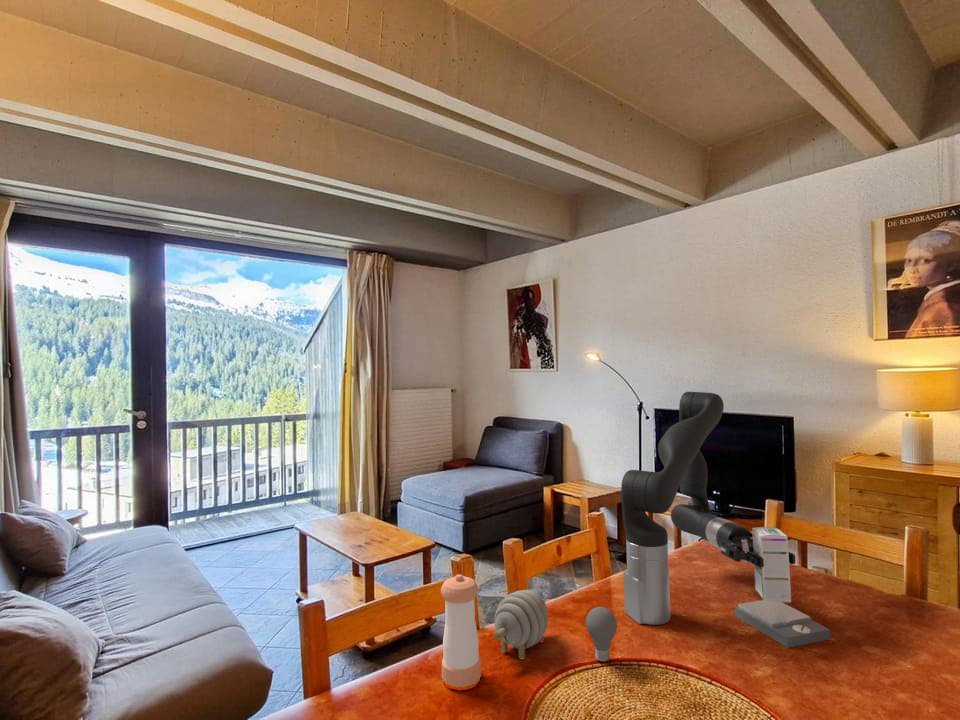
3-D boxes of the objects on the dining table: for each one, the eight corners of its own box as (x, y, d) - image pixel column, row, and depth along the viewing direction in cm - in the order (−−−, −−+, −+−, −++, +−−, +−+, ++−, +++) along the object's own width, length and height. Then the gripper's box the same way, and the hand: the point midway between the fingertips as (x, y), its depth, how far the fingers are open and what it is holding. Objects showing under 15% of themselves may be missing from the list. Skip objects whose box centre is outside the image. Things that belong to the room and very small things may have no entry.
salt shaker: (436, 688, 90) (434, 581, 91) (448, 665, 97) (446, 566, 98) (475, 693, 88) (473, 584, 89) (484, 670, 95) (482, 569, 96)
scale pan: (772, 627, 104) (772, 624, 105) (738, 607, 114) (738, 604, 114) (810, 620, 107) (810, 617, 107) (774, 601, 116) (773, 598, 116)
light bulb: (596, 671, 94) (594, 617, 94) (581, 654, 100) (580, 604, 100) (624, 665, 96) (622, 612, 96) (608, 649, 101) (606, 599, 102)
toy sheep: (560, 636, 107) (559, 584, 107) (525, 677, 93) (524, 617, 93) (517, 624, 113) (516, 574, 113) (477, 661, 98) (476, 604, 99)
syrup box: (792, 603, 107) (789, 535, 108) (762, 601, 109) (760, 534, 109) (781, 591, 113) (779, 527, 113) (753, 589, 114) (751, 526, 114)
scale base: (787, 647, 100) (786, 636, 100) (735, 616, 114) (735, 605, 114) (830, 639, 103) (829, 628, 103) (774, 609, 117) (774, 599, 117)
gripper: (702, 524, 124) (748, 547, 108) (753, 519, 126) (806, 541, 110) (703, 554, 124) (749, 581, 108) (754, 549, 126) (807, 575, 110)
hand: (778, 561), depth 109 cm, fingers closed on syrup box, 7 cm apart
